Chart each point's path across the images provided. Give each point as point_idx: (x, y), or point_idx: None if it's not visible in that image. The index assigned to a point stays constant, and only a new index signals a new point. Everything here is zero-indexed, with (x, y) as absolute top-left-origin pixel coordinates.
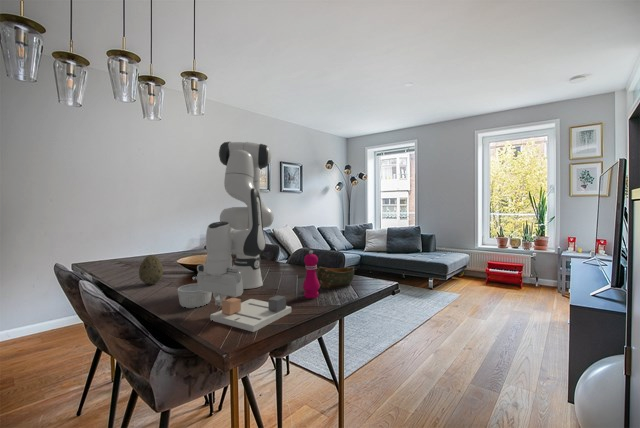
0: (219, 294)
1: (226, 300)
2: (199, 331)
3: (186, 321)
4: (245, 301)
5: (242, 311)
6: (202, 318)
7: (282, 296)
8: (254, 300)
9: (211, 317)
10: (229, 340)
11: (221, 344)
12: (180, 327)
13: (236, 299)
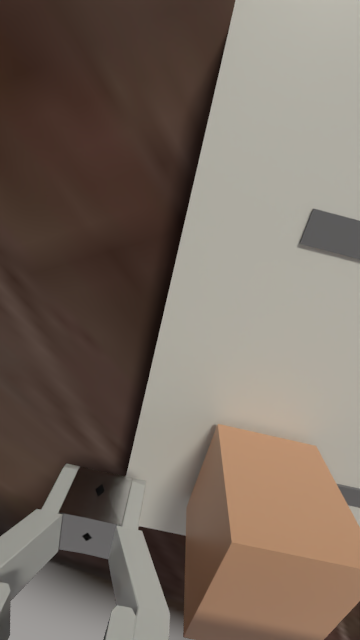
0: (8, 589)
1: (216, 617)
2: (173, 575)
3: (12, 513)
4: (219, 148)
5: (329, 442)
6: (57, 470)
7: None
8: (342, 48)
9: None
10: (357, 610)
11: (338, 630)
12: (54, 560)
13: (327, 586)
